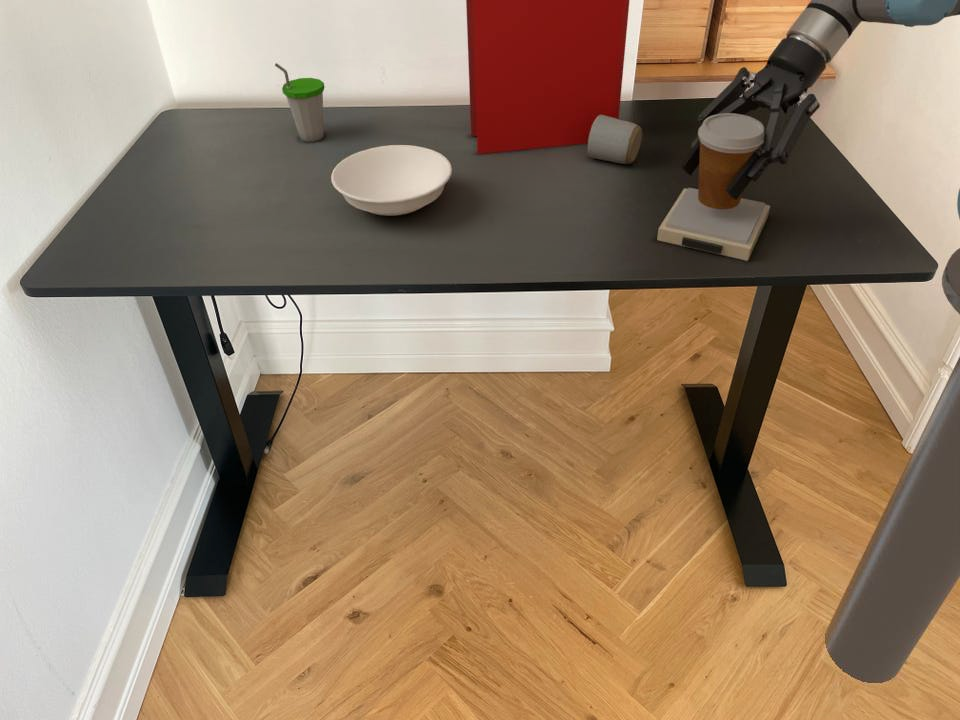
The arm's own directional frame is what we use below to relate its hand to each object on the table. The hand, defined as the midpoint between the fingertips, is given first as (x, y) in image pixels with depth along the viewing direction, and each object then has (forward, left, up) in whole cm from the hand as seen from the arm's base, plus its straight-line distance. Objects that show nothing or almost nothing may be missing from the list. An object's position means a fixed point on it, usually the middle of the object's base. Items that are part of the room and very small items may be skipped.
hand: (707, 182), depth 117 cm
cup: (+78, -4, -9) cm, 79 cm away
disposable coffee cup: (-2, -3, -4) cm, 5 cm away
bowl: (+49, +12, -9) cm, 51 cm away
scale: (-2, -3, -9) cm, 10 cm away
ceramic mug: (+21, -20, -9) cm, 31 cm away
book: (+36, -22, -9) cm, 43 cm away
